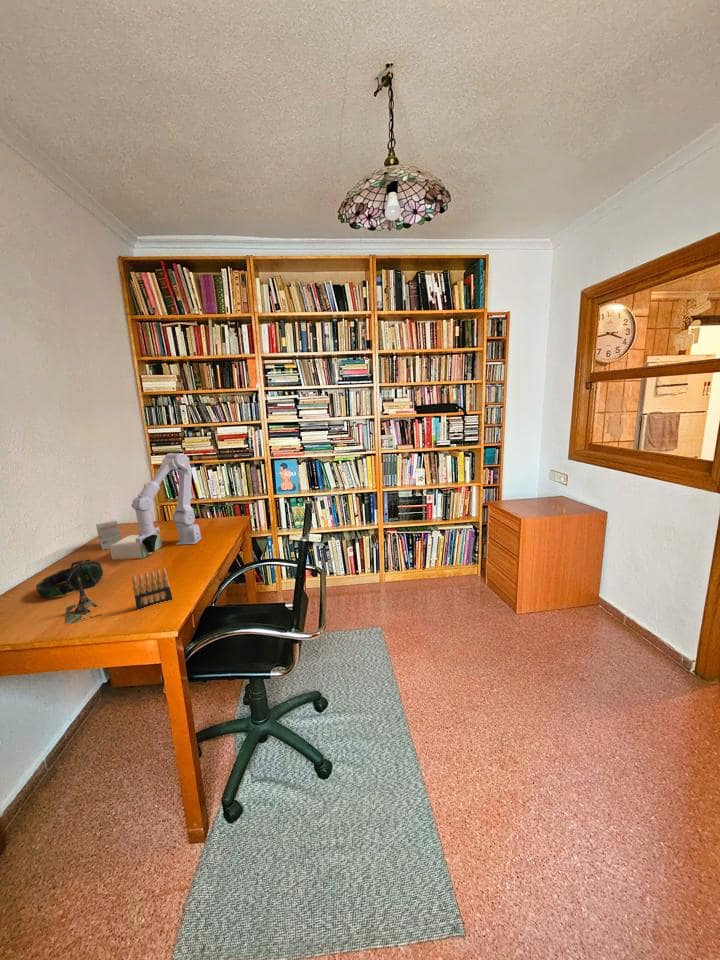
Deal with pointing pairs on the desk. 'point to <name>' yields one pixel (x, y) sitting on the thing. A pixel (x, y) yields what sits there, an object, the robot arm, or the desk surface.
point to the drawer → (157, 545)
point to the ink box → (108, 533)
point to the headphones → (70, 579)
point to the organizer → (126, 548)
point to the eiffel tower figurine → (83, 604)
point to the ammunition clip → (151, 589)
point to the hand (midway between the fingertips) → (151, 551)
